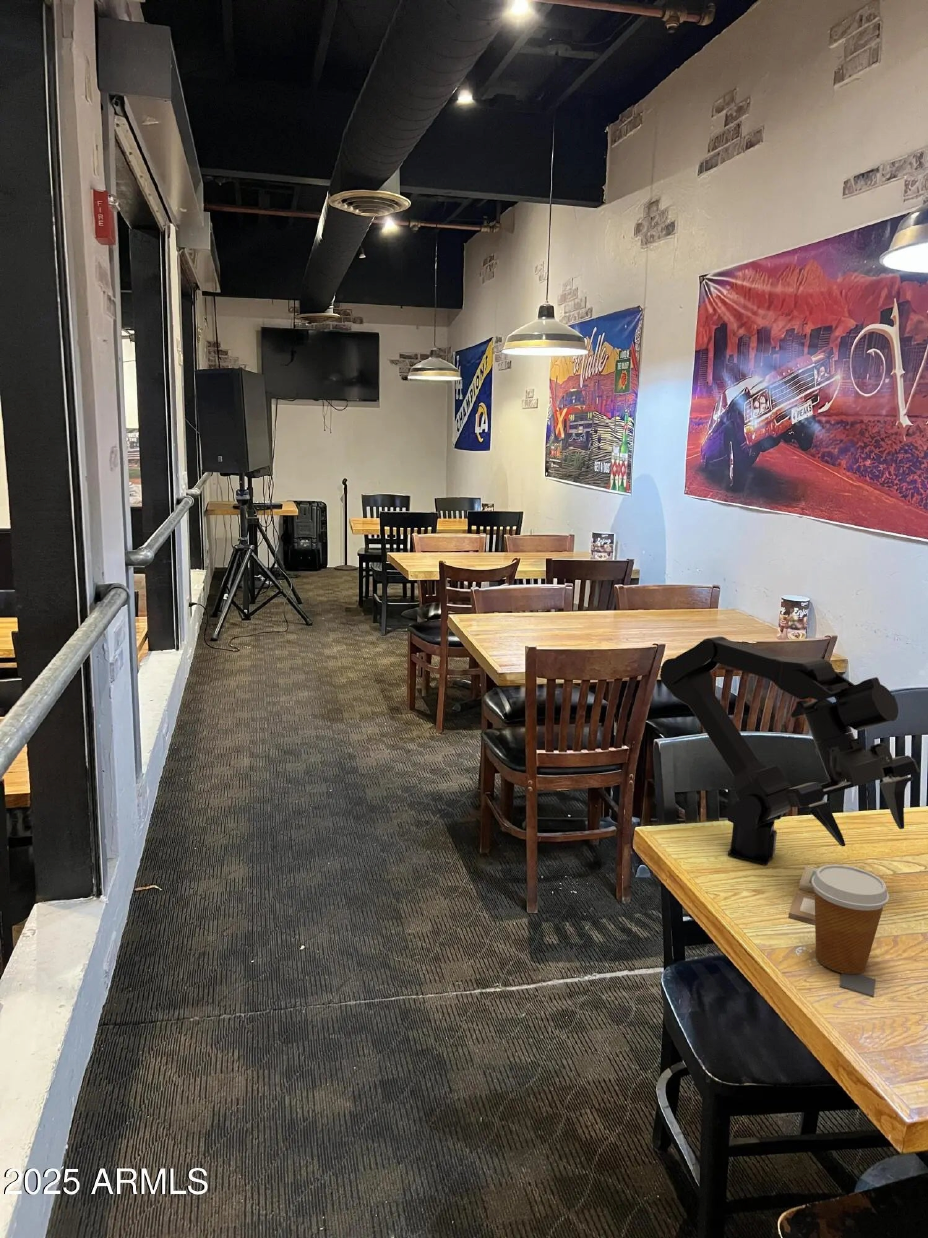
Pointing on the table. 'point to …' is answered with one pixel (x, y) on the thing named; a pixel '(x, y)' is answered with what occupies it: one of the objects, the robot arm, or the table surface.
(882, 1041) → the table surface
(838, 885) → the disposable coffee cup
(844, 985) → the black coaster
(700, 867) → the table surface
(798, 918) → the walnut marker tile
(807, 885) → the birch marker tile
